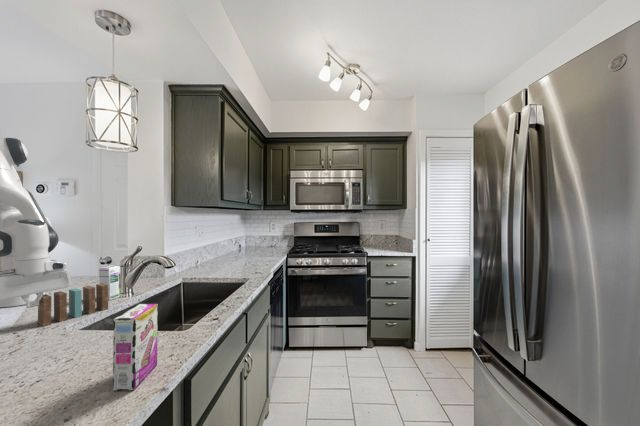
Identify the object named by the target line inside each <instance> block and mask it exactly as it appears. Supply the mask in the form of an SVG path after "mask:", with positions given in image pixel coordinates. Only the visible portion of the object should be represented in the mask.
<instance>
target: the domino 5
mask: <svg viewBox="0 0 640 426" xmlns="http://www.w3.org/2000/svg"><path fill="white" fill-rule="evenodd" d="M96 309H97V310H98V311H102V312H104V311H106V310H109V300H108V285H107V284H102V283H101V284H99V283H97V284H95V310H96Z"/></svg>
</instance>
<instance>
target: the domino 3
mask: <svg viewBox="0 0 640 426" xmlns="http://www.w3.org/2000/svg"><path fill="white" fill-rule="evenodd" d="M68 312H69V313H68V315H69V316H70V317H72V318H74V319H77V318H80V316H81V317H83V316H82V315H83V314H82V313H83V304H82V290H81V289H78V288H71V289H68Z"/></svg>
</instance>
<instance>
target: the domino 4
mask: <svg viewBox="0 0 640 426" xmlns="http://www.w3.org/2000/svg"><path fill="white" fill-rule="evenodd" d="M84 312H85V313H84ZM82 313H84V314H87V313H88V315H92V314H96V286H91V285H86V286H83V287H82Z"/></svg>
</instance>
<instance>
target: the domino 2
mask: <svg viewBox="0 0 640 426" xmlns="http://www.w3.org/2000/svg"><path fill="white" fill-rule="evenodd" d="M67 295H68V294H67V292H64V291H62V290H61V291H55V292H53V320H54V321H57V322H58V321H59V323H62V321H63V322H66V321H67V320H68V309H67V308H68V300H67V299H68V296H67Z"/></svg>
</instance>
